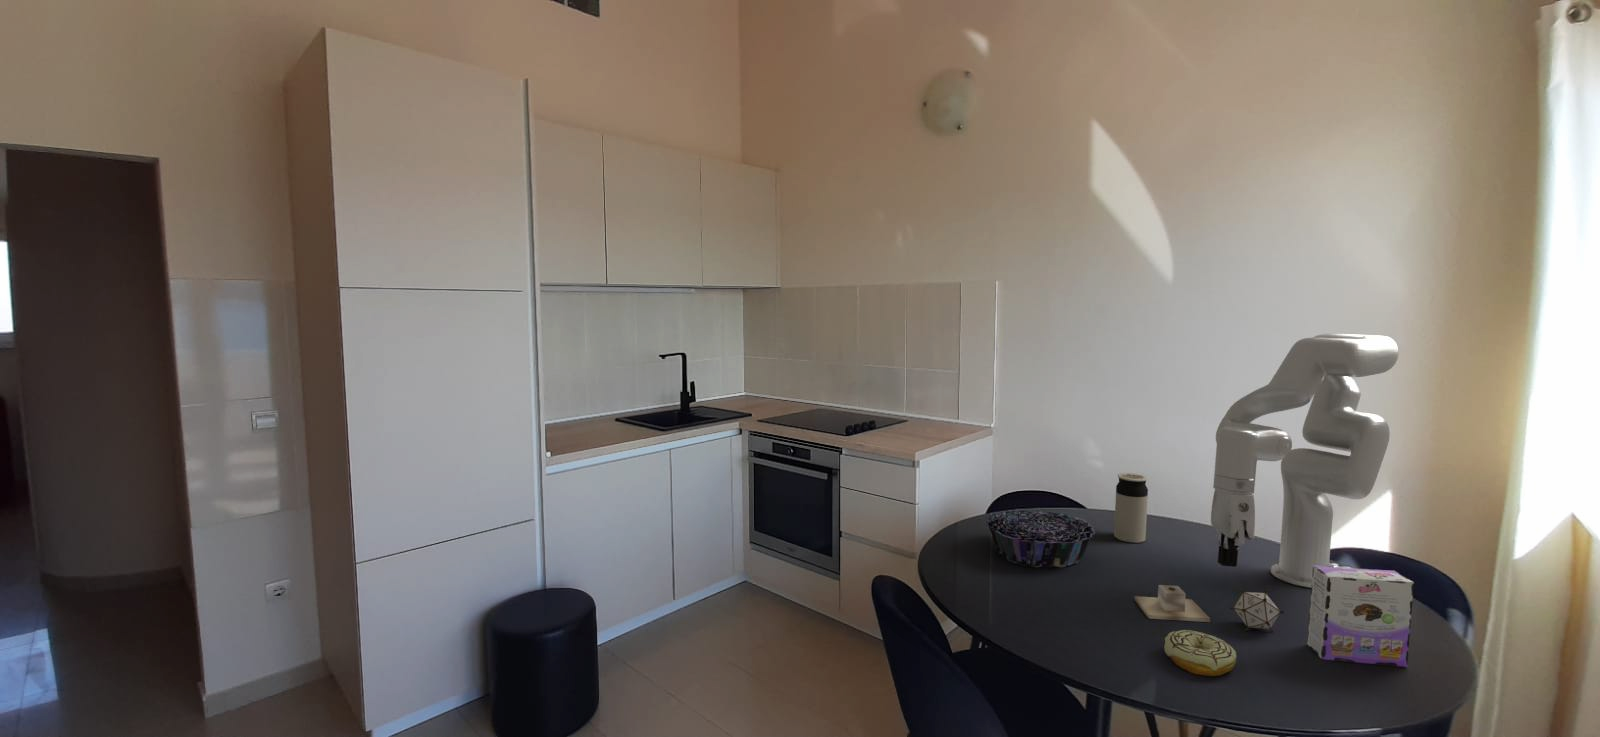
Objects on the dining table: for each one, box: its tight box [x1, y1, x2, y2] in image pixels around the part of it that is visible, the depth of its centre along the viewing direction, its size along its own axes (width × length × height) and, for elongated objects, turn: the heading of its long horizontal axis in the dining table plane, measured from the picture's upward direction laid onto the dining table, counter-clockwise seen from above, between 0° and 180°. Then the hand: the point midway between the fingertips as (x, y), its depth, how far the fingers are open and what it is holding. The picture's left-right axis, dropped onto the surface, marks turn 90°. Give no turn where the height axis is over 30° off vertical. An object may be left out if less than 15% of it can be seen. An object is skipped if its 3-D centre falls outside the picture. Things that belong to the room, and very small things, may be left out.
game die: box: [1228, 588, 1287, 633], centre depth 136 cm, size 9×8×10 cm
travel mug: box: [1113, 472, 1149, 544], centre depth 187 cm, size 8×8×18 cm
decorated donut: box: [1163, 629, 1237, 677], centre depth 124 cm, size 11×12×4 cm
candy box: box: [1306, 565, 1415, 668], centre depth 125 cm, size 14×6×16 cm, turn 77°
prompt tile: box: [1133, 584, 1211, 623], centre depth 145 cm, size 12×9×5 cm
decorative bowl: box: [986, 509, 1096, 568], centre depth 177 cm, size 26×28×10 cm
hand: (1227, 564), depth 147 cm, fingers closed
